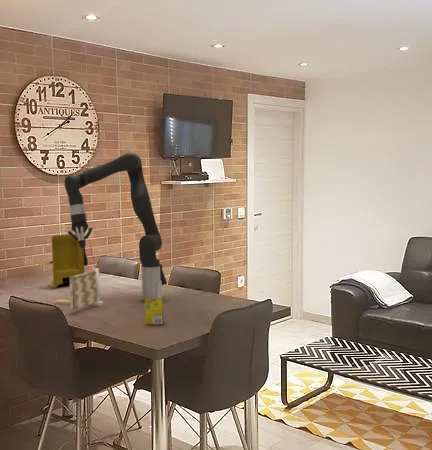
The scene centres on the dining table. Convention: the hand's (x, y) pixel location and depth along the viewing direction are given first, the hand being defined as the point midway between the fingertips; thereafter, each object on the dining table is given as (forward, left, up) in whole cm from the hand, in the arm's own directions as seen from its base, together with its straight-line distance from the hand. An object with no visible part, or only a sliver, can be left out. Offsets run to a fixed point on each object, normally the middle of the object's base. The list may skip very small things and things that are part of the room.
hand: (82, 247), depth 300 cm
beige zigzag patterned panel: (-10, +20, -25) cm, 33 cm away
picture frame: (-1, +10, -27) cm, 28 cm away
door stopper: (-24, -44, -27) cm, 57 cm away
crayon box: (-51, +37, -27) cm, 68 cm away
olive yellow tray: (+26, -31, -27) cm, 49 cm away
